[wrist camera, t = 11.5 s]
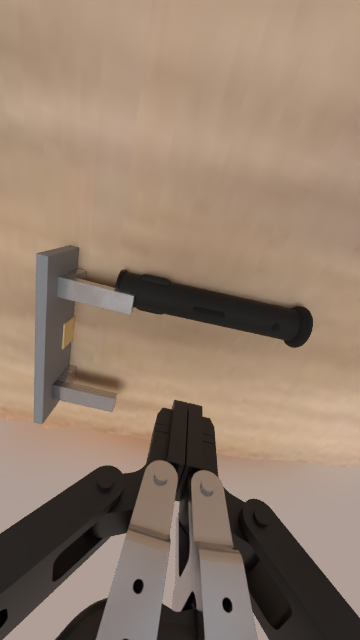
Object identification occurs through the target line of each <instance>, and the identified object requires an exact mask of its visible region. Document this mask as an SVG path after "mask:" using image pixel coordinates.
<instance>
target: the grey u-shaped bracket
mask: <svg viewBox="0 0 360 640" xmlns="http://www.w3.org/2000/svg"><path fill="white" fill-rule="evenodd" d="M85 277H86V270H83V269H79V268H76V269H74V270H72V271H70V272H68V273H66V274H63V275H61V276H59V277H58V288H57V297H60V298H64V299H68V300H72V301H76V302H80V303H84V304H88V305H92V306H96V307H100V308H104V309H108V310H112V311H116V312H120V313H124V314H128V315H131V313H132V312H133V307H134V301H135V295H136V294H135V293H131V292H127V291H123V290H120V289H118V290H117V289H115V288H114V287H110V286H106V285H102V284H98V283H94V282H90V281H86V280H85ZM76 368H77V366H74V365H68V367H67V368H66V369H65V370H64V371H63V373H62V374H61V375H60V376H59V377H58V379H57V380H56V381H55V382H54V384H53V385H52V398H53V399H57V400H61V401H66V402H70V403H74V404H79V405H83V406H87V407H92V408H96V409H101V410H105V411H109V412H113V410H114V407H115V403H116V397H117V394H116V393H112V392H108V391H103V390H99V389H95V388H90V387H86V386H82V385H78V384H73V381H74V380H75V378H76Z"/></svg>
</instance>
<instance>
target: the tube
mask: <svg viewBox="0 0 360 640" xmlns="http://www.w3.org/2000/svg"><path fill="white" fill-rule="evenodd" d="M115 289H117V290H118V289H120V290H123V291H127V292H131V293H135V294H136V295H135V301H134V307H136V308H137V309H139V310H141V311H146V312H150V313H155V314H168V315H172V316H177V317H182V318H186V319H191V320H195V321H200V322H204V323H209V324H214V325H218V326H223V327H227V328H232V329H237V330H241V331H246V332H250V333H255V334H259V335H264V336H269V337H273V338H278V339H282V340H284V342H285V343H286V344H287V345H288V346H290V347H293V348H296V347H300V346H302V345H303V344H304V343H305V342H306V341H307V340H308V338H309V337H310V334H311V332H312V327H313V318H312V315H311V313H310V311H309V310H308V309H307V308H305V307H295V308H293V309H287V308H283V307H278V306H274V305H269V304H265V303H261V302H256V301H252V300H247V299H243V298H238V297H234V296H229V295H225V294H220V293H216V292H211V291H207V290H202V289H198V288H193V287H189V286H185V285H180V284H176V283H171V282H170V281H169V280H167V279H164V278H160V277H155V276H151V275H141V276H140V275H135V274H131V273H127V270H121V272H120V273H119V276H118V278H117V282H116V286H115Z"/></svg>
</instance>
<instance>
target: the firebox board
mask: <svg viewBox="0 0 360 640" xmlns="http://www.w3.org/2000/svg"><path fill="white" fill-rule="evenodd" d="M78 255H79V248H78V247H74V246H71V245H69V246H65V247H61V248H57V249H53V250H49V251H45V252H41V253H37V254H36V316H35V378H34V423H39V424H43V423H44V421H45V420H46V418H47V417H48V416H49V414H50V413H51V411H52V410H53V409H54V407H55V406H56V405H57V403H58V402H59V400H57V399H53V398H52V385H53V384H54V382H55V381H56V380H57V379H58V377H59V376H60V375H61V374H62V373H63V371H64V370H65V369H66V368H67V367H68V365H69V362H70V351H71V341H72V340H73V331H74V319H75V316H73V315H74V303H75V301H72V300H68V299H64V298H60V297H57V288H58V277H59V276H61V275H63V274H66V273H68V272H70V271H72V270H74V269H76V268H77V267H78Z"/></svg>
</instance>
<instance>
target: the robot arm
mask: <svg viewBox="0 0 360 640" xmlns="http://www.w3.org/2000/svg"><path fill="white" fill-rule="evenodd" d="M175 501H180V506H179V513H178V516H177V519H176V576H175V588H174V593H173V601H172V609H170V608H168V607H167V606H165V605H163V604H162V599H163V592H164V586H165V578H166V572H167V564H168V557H169V550H170V528H171V521H172V515H173V509H174V502H175ZM124 533H127V534H126V537H125V541H124V544H123V548H122V551H121V555H120V558H119V562H118V565H117V569H116V572H115V575H114V579H113V582H112V585H111V589H110V592H109V596H108V598H105V599H103V600H100V601H97V602H96V603H94V604H92V605H90V606H89V607H87V608H86V609H84V610H83V611H82V612H81V613H79V614H78V615H77V616H76V617H75V618H74V619H73V620H72V621H71V622H70V623H69V624H68V625H67V627H66V628H65V629H64V630H63V631H62V632H61V633H60V635H59V636H58V637H57V638H56V639H55V640H258V639H257V634H256V629H255V623H254V618H253V613H254V615H255V616H256V618H257V620H258V621H259V623H260V625H261V627H262V628H263V630H264V632H265V633H266V635H267V637H268V639H269V640H360V618H359V617H358V615H357V614H356V613H355V612H354V610H353V609H352V608H351V607H350V606H349V604H348V603H347V602H346V601H345V599H344V598H343V597H342V596H341V595H340V593H339V592H338V591H337V590H336V588H335V587H334V586H333V585H332V583H331V582H330V581H329V580H328V578H326V576H325V575H324V574H323V572H322V571H321V570H320V569H319V567H318V566H317V565H316V564H315V563H314V561H313V560H312V559H311V558H310V556H309V555H308V554H307V553H306V552H305V550H304V549H303V548H302V546H300V544H299V543H298V542H297V540H296V539H295V538H294V537H293V536H292V534H291V533H290V532H289V530H288V529H287V528H286V527H285V526H284V524H283V523H282V522H281V521H280V519H279V518H278V517H277V516H276V515H275V513H274V512H273V511H272V510H271V508H270V507H269V506H268V505H266V504H265V503H264V502H262V501H260V500H257V499H250V500H248V501H246V502H243V501H242V500H240V499H238V498H236V497H235V496H233V495H232V494H230V493H229V492H228V491H227V490H226V489H225V488H224V487H223V485H222V483H221V481H220V479H219V477H218V470H217V457H216V445H215V431H214V426H213V424H212V422H211V420H210V418H206V417H202V406H199V405H195V404H191V403H186V402H182V401H178V400H174V403H173V406H172V410H171V409H167V408H162V409H161V411H160V412H159V413H158V415H157V419H156V422H155V426H154V430H153V434H152V438H151V443H150V448H149V453H148V458H147V462H146V465H145V466H144V467H143V468H142V469H140V470H138V471H136V472H133V473H125V474H122V473H121V471H120V470H119V469H117V468H115V467H113V466H102V467H99V468H97V469H96V470H94V471H93V472H91V473H90V474H88V475H87V476H85V477H84V478H82V479H81V480H79V481H78V482H77V483H75V484H74V485H72V486H70V487H69V488H67V489H66V490H65V491H63V492H61V493H60V494H58V495H57V496H56V497H54V498H53V499H51V500H50V501H48V502H47V503H45V504H44V505H42V506H41V507H40V508H38V509H36V510H35V511H33V512H32V513H30V514H29V515H27V516H26V517H24V518H23V519H22V520H20V521H19V522H17V523H15V524H14V525H13V526H11V527H10V528H9V529H7V530H5V531H4V532H2V533H1V534H0V640H2V639H4V638H5V636H7V635H8V634H9V633H10V632H11V631H12V630H13V629H14V628H15V627H16V626H17V625H18V624H19V623H20V622H21V621H23V620H24V619H25V618H26V617H27V616H28V615H29V614H30V613H31V612H32V611H33V610H34V609H35V608H36V607H37V606H38V605H39V604H40V603H41V602H43V600H44V599H46V598H47V597H48V596H49V595H50V594H51V593H52V592H53V591H54V590H55V589H56V588H57V587H58V586H59V585H61V584H62V582H64V581H65V580H66V579H67V578H68V577H69V576H70V575H71V574H72V573H73V572H74V571H75V570H76V569H77V568H78V567H80V566H81V565H82V564H83V563H84V562H85V561H86V560H87V559H88V558H89V557H90V556H91V555H92V554H93V553H94V552H95V551H96V550H97V549H98V548H100V546H102V545H103V544H104V543H105V542H106V541H107V540H108V539H109V538H110V537H111V536H114V535H119V534H124ZM252 611H253V612H252Z"/></svg>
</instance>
